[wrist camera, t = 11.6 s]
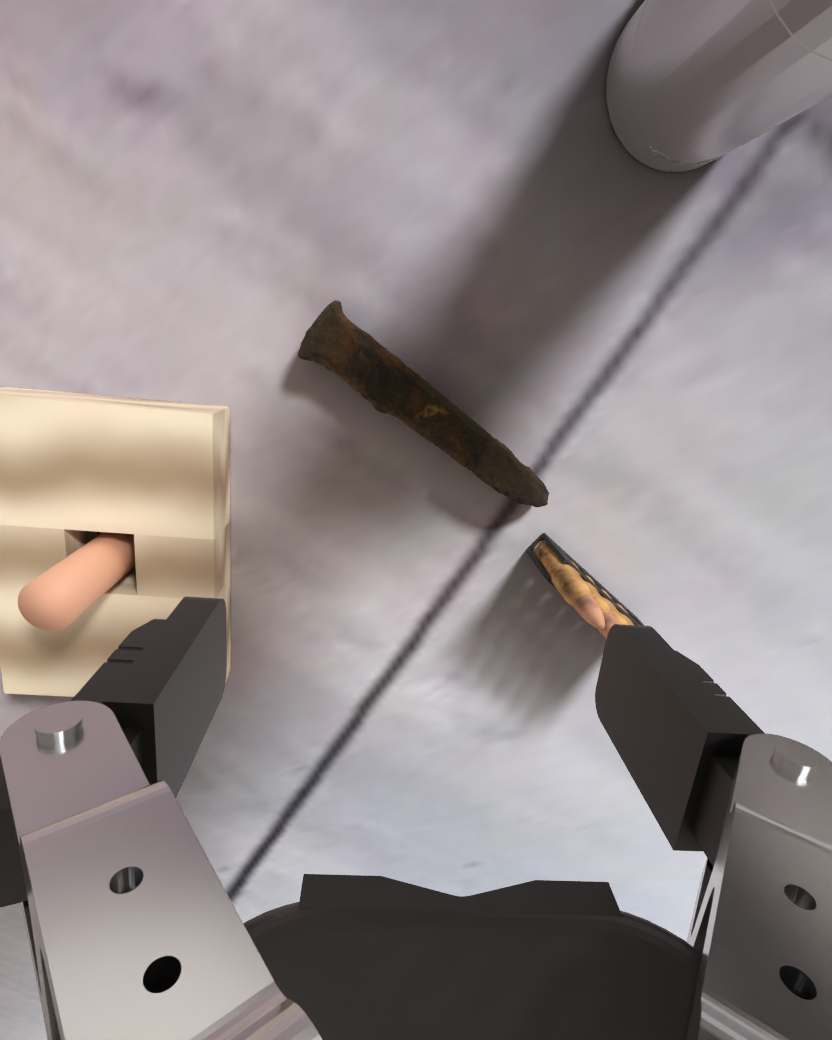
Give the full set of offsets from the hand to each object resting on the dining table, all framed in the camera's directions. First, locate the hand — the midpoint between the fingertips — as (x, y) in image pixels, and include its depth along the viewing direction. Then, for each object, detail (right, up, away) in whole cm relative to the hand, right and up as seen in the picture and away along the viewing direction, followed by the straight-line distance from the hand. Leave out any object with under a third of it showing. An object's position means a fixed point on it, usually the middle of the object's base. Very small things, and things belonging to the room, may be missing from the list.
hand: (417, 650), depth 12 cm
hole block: (-20, +1, +28) cm, 35 cm away
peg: (-20, +1, +28) cm, 35 cm away
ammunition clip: (+12, -2, +31) cm, 34 cm away
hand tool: (+1, +10, +27) cm, 29 cm away
